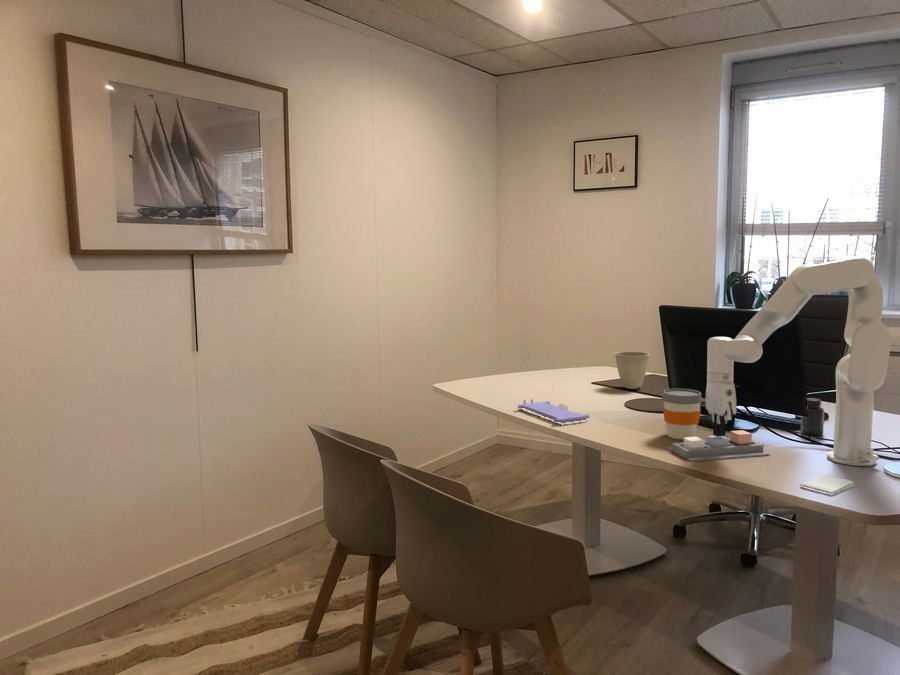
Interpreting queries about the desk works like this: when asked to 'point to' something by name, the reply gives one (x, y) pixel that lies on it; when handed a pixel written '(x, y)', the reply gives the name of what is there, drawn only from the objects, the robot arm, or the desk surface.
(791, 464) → the desk surface
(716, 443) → the slate key
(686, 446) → the ivory key
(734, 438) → the terracotta key
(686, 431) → the reusable coffee cup
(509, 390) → the desk surface
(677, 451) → the tray
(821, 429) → the supplement bottle
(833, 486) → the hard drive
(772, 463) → the desk surface
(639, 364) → the plant pot
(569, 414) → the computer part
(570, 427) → the desk surface
